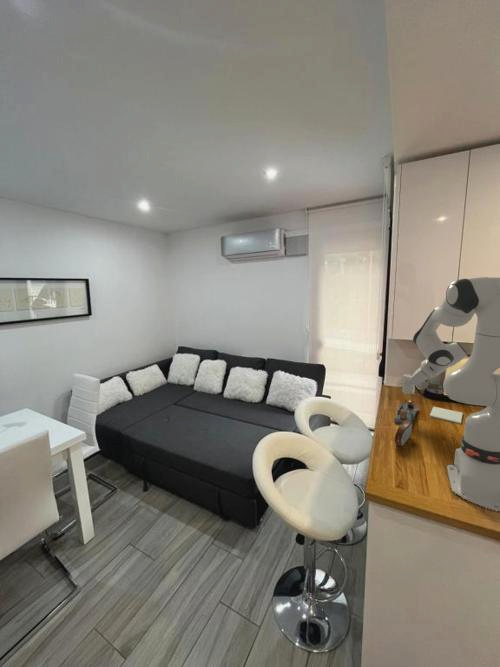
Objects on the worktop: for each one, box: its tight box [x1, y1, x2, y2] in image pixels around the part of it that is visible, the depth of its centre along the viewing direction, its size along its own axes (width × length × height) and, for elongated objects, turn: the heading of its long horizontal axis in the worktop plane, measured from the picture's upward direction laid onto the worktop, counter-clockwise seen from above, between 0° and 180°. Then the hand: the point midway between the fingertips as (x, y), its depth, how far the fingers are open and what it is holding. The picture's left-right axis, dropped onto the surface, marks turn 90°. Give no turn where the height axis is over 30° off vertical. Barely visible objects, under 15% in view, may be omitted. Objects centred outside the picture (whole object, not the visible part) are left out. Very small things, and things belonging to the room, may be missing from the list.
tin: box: [394, 420, 413, 447], centre depth 120 cm, size 15×3×8 cm, turn 133°
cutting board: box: [429, 406, 464, 425], centre depth 142 cm, size 13×13×1 cm
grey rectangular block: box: [401, 373, 416, 395], centre depth 140 cm, size 4×5×9 cm
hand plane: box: [393, 399, 419, 425], centre depth 142 cm, size 22×7×6 cm, turn 139°
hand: (407, 382), depth 140 cm, fingers closed on grey rectangular block, 4 cm apart
